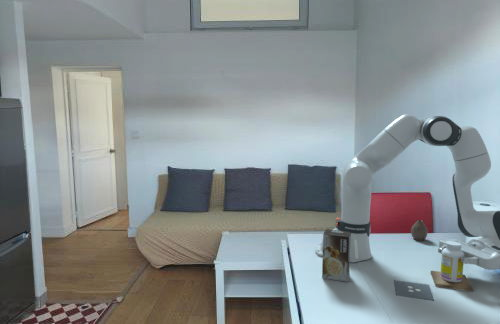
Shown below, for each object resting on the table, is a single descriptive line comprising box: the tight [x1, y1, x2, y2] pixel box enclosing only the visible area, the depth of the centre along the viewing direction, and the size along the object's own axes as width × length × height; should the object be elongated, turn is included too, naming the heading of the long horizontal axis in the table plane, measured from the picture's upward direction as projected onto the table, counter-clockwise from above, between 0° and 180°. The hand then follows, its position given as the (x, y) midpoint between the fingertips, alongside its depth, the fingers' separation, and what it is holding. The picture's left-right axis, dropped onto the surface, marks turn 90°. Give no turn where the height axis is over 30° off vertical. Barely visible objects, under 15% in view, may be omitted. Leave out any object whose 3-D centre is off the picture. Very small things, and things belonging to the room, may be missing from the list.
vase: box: [410, 219, 428, 241], centre depth 170 cm, size 7×7×9 cm
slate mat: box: [393, 279, 435, 301], centre depth 120 cm, size 11×11×1 cm
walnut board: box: [430, 270, 474, 292], centre depth 127 cm, size 11×11×1 cm
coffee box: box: [321, 228, 351, 283], centre depth 129 cm, size 9×6×16 cm
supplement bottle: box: [440, 241, 464, 283], centre depth 126 cm, size 7×7×13 cm
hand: (450, 255), depth 125 cm, fingers open, 8 cm apart
